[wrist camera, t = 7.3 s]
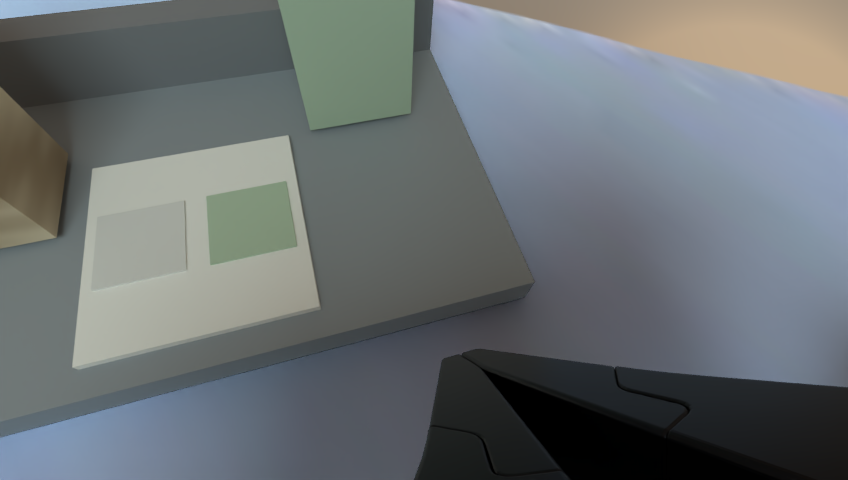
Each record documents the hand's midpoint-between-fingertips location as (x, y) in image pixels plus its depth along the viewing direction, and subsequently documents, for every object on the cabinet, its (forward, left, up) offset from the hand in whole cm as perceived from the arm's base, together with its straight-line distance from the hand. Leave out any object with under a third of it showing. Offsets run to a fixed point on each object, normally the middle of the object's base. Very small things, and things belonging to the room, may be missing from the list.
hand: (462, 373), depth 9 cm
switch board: (0, +13, -6) cm, 14 cm away
